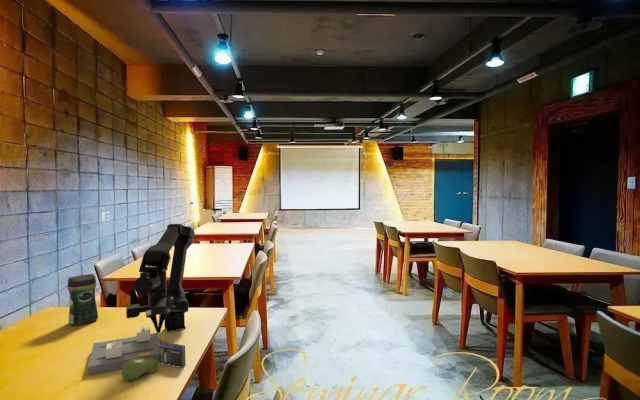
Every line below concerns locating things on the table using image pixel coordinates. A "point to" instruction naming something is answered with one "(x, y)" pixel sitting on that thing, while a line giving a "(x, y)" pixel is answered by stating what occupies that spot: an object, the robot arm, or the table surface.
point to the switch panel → (129, 351)
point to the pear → (138, 367)
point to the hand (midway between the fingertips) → (158, 332)
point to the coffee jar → (82, 299)
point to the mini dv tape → (172, 354)
